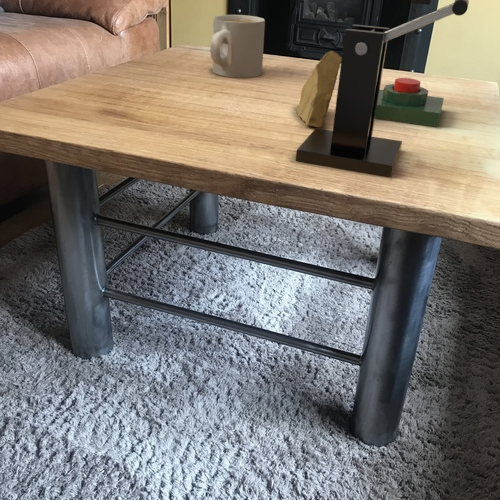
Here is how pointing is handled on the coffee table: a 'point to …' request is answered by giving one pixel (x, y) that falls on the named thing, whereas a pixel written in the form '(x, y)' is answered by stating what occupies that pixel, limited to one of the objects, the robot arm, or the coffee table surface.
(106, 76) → the coffee table surface
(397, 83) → the button
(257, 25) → the coffee mug
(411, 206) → the coffee table surface
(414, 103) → the block
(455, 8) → the knife lever
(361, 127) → the cutter
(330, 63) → the rock
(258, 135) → the coffee table surface
